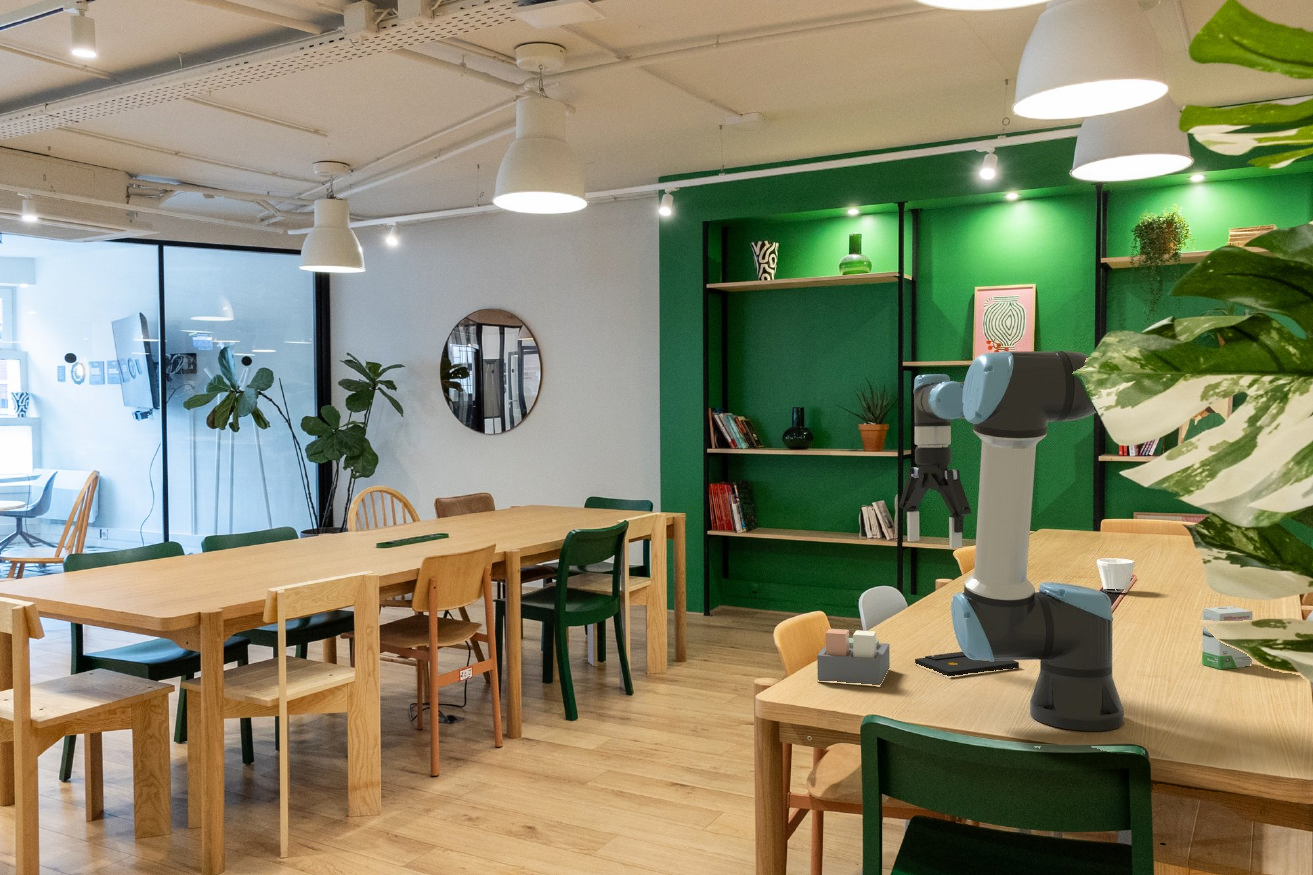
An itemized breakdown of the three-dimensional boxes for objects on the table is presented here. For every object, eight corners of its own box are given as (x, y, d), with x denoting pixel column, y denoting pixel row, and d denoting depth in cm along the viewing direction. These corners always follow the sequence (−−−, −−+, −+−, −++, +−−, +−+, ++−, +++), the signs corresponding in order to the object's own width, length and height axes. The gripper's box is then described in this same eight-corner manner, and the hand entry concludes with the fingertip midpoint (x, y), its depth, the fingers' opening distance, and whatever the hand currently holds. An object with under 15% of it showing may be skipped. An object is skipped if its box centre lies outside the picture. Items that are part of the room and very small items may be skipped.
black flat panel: (982, 658, 215) (982, 648, 215) (1019, 671, 205) (1019, 660, 205) (914, 667, 209) (914, 657, 209) (948, 681, 198) (948, 670, 198)
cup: (1089, 590, 290) (1089, 559, 289) (1116, 588, 293) (1116, 557, 292) (1114, 596, 280) (1114, 564, 280) (1142, 593, 283) (1142, 562, 283)
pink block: (845, 663, 196) (845, 634, 196) (826, 662, 198) (825, 632, 198) (849, 658, 200) (848, 629, 200) (829, 657, 201) (829, 628, 201)
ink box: (1220, 670, 201) (1219, 612, 201) (1200, 664, 206) (1200, 608, 205) (1254, 666, 203) (1253, 609, 203) (1234, 660, 208) (1234, 605, 208)
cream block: (873, 665, 194) (873, 635, 194) (853, 664, 196) (853, 634, 196) (876, 660, 198) (876, 631, 198) (856, 659, 199) (856, 630, 199)
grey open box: (880, 687, 192) (879, 654, 192) (817, 682, 197) (817, 650, 197) (889, 669, 206) (889, 638, 205) (830, 665, 210) (830, 635, 210)
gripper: (988, 446, 201) (989, 549, 202) (909, 444, 224) (910, 537, 224) (959, 447, 198) (960, 552, 198) (882, 445, 221) (883, 539, 221)
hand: (934, 544), depth 211 cm, fingers open, 13 cm apart
